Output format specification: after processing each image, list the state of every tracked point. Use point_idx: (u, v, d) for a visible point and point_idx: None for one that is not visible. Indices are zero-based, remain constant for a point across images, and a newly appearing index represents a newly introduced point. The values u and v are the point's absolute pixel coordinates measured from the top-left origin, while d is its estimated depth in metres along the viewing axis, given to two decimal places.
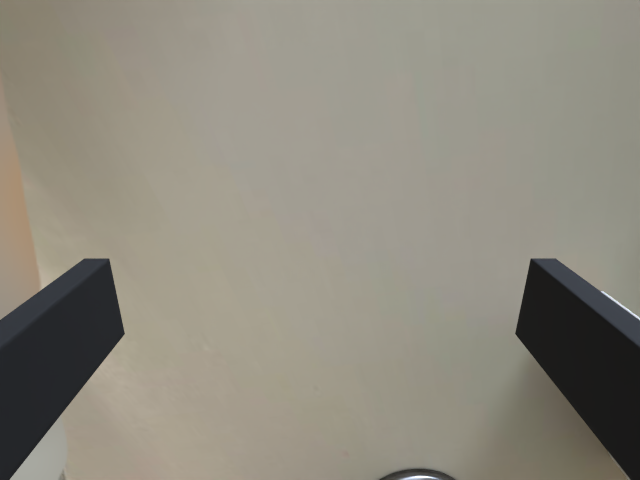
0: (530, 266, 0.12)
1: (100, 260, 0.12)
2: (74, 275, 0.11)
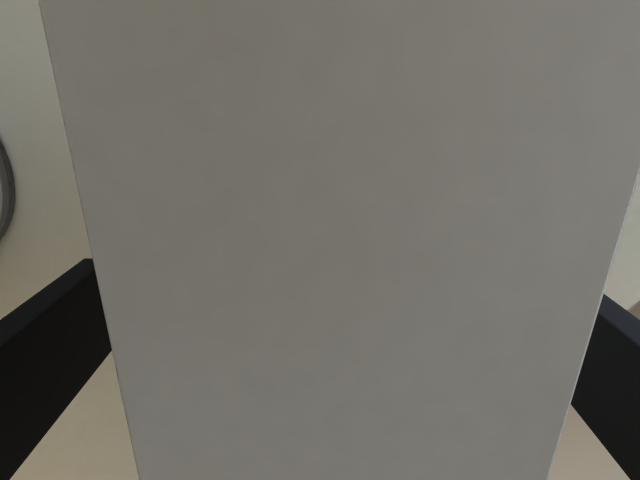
0: None
1: None
2: (74, 275, 0.11)
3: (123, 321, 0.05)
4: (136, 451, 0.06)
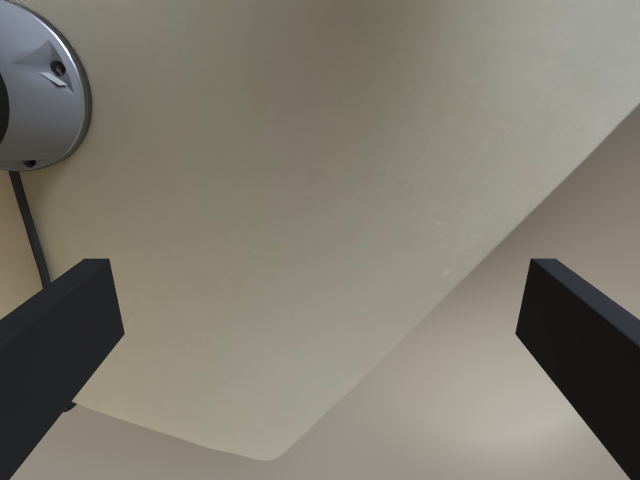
0: (530, 266, 0.12)
1: (100, 260, 0.12)
2: (74, 275, 0.11)
3: None
4: None
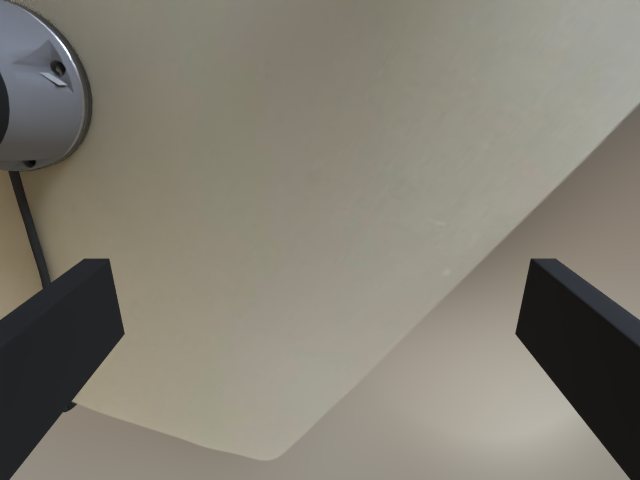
0: (530, 266, 0.12)
1: (100, 260, 0.12)
2: (74, 275, 0.11)
3: None
4: None
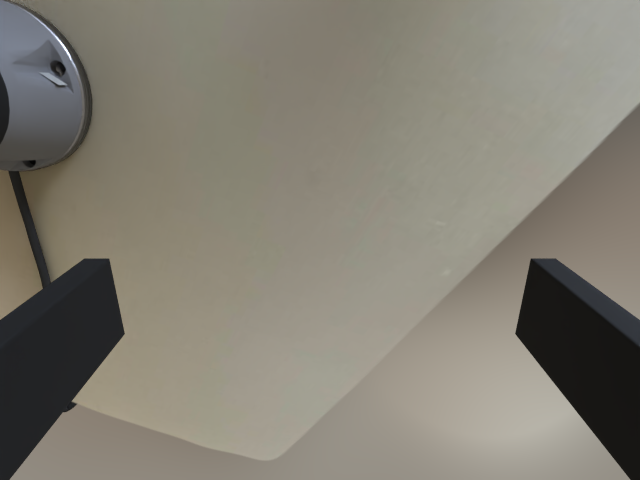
0: (530, 266, 0.12)
1: (100, 260, 0.12)
2: (74, 275, 0.11)
3: None
4: None
